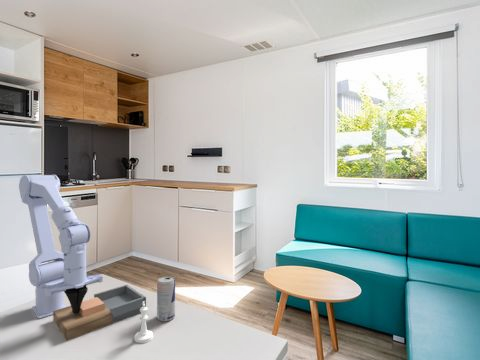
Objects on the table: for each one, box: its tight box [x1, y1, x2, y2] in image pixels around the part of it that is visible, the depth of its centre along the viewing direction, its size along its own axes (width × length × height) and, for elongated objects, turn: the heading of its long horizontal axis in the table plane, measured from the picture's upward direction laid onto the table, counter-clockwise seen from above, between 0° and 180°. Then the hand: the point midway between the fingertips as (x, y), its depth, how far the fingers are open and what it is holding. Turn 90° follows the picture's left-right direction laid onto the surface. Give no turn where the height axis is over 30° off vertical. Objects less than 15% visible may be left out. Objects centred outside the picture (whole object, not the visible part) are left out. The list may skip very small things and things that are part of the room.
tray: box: [93, 284, 147, 324], centre depth 92 cm, size 14×11×4 cm
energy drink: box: [156, 275, 176, 322], centre depth 88 cm, size 5×5×12 cm
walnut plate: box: [52, 305, 114, 342], centre depth 85 cm, size 14×12×3 cm
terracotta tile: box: [79, 297, 105, 317], centre depth 86 cm, size 6×6×2 cm
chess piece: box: [133, 301, 154, 344], centre depth 77 cm, size 5×5×10 cm
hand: (75, 312), depth 83 cm, fingers closed
